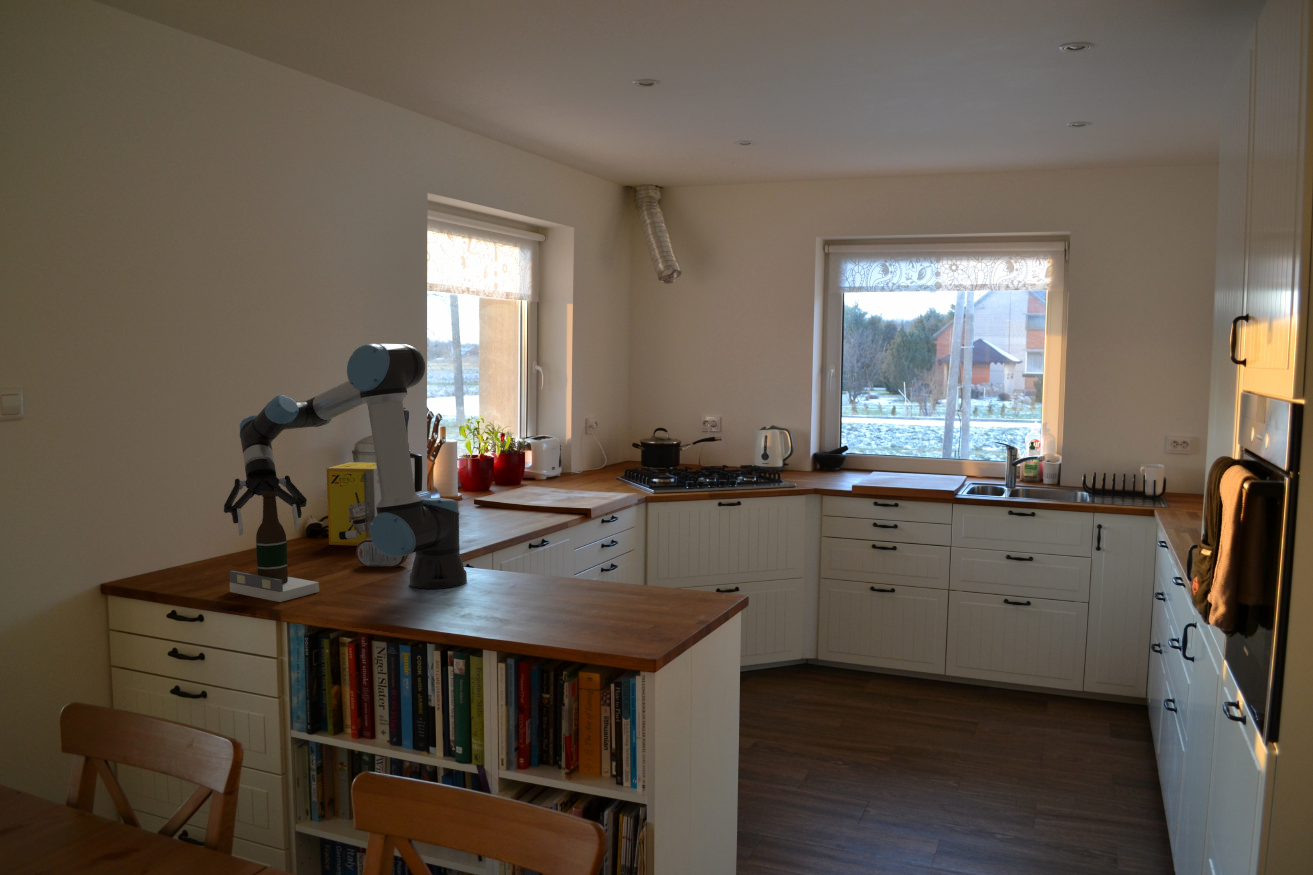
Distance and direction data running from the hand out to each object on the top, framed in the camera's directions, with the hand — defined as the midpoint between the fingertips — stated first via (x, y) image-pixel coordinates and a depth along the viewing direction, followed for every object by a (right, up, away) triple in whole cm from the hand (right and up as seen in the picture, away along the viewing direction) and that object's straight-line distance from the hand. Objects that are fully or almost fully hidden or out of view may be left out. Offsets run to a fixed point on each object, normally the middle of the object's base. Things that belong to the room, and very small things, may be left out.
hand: (269, 529), depth 249 cm
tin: (+20, -14, +31) cm, 40 cm away
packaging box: (+3, -10, +69) cm, 70 cm away
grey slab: (0, -16, +3) cm, 17 cm away
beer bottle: (0, -14, +2) cm, 14 cm away
